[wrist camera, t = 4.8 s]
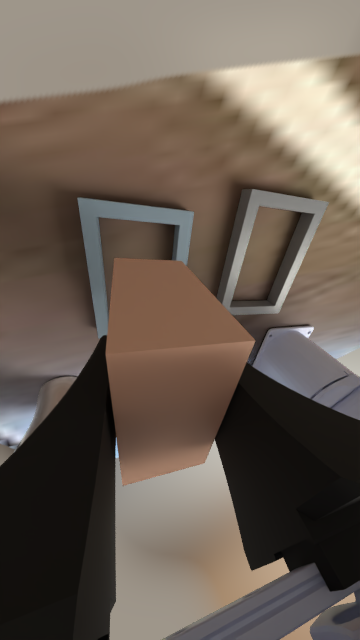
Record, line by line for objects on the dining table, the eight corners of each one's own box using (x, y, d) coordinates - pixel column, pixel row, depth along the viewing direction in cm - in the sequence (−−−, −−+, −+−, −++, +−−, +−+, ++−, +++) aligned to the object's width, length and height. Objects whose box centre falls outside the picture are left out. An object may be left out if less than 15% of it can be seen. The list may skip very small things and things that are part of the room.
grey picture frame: (174, 325, 22) (177, 333, 20) (99, 329, 19) (98, 338, 18) (188, 210, 15) (193, 211, 14) (81, 197, 13) (77, 197, 12)
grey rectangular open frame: (270, 307, 24) (278, 313, 23) (213, 309, 22) (219, 315, 21) (314, 201, 18) (328, 202, 17) (242, 189, 16) (252, 188, 14)
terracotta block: (170, 355, 14) (204, 463, 8) (121, 360, 13) (122, 485, 7) (181, 260, 10) (255, 340, 5) (114, 258, 9) (105, 354, 4)
